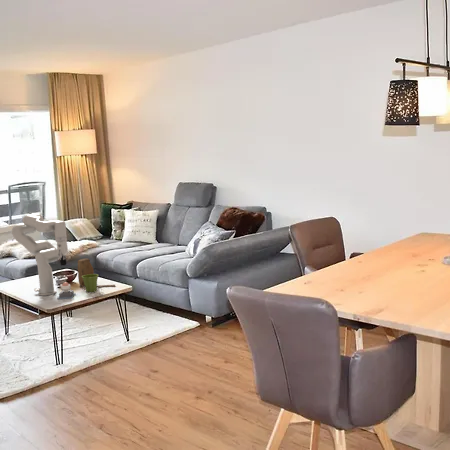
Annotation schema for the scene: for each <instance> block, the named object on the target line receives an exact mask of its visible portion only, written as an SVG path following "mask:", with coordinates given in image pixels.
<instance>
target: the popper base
mask: <svg viewBox="0 0 450 450" xmlns="http://www.w3.org/2000/svg"><path fill="white" fill-rule="evenodd" d="M68 292H69V293H64V291H62V290H61V292H58V296H57V300H65V299H66V300H67V299H69V300H70V299H71V300H72V299H73V298H74V297H75V296H76V293H75V292H74V289H73V290H71V289H70V290H68Z"/></svg>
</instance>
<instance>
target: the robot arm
mask: <svg viewBox="0 0 450 450" xmlns="http://www.w3.org/2000/svg"><path fill="white" fill-rule="evenodd" d="M11 232H12V233H11V234H12V236H13V237H12V238H13V239H14V240H15V241H16V242H17V243H19V244H20V245H22V246H23V247H24V249H26V250H27V251H28V252H29V253H30V254H31V255H33V256H35V257H34V258H35V262H36V265H37V274H38V283H39V288H37V287H36V288H34V289H33V290H34V292H37V295H38V296H40V297H41V296H43V297H44V296H52V295H55V294H57V290H56V289H55V287H54V284H55V283H54V276H53V268H52V266H51V265H50V264H49V263H54V262H56V261H58V260H60V261H59V262H60V266H66V265H67V255H68V254H69V248H68V243H67V241H68V238H67V237H68V236H67V226H66V222H65V221H64V220H58V219H54V220H48V221H45V219H44V217H43V215H42V214H40V213H31V214H26V215H24V216H23V218H22V223H17V224H15V225H14V226H13V227H12V228H11ZM35 232H40V233H50V232H54V237H55V242H56V247H55V246H54V245H53V244H52V243H51V242H50V241H48V240H44V239H43V240H35V239H34V238H33V237H31V236H29V235H30V234H34V233H35Z"/></svg>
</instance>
